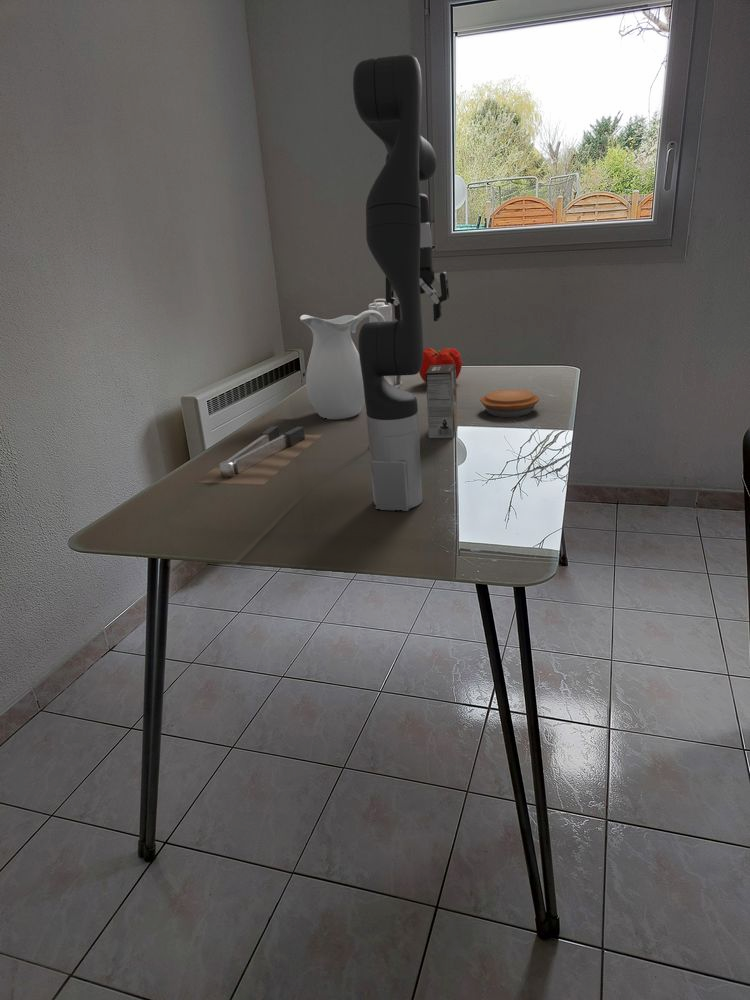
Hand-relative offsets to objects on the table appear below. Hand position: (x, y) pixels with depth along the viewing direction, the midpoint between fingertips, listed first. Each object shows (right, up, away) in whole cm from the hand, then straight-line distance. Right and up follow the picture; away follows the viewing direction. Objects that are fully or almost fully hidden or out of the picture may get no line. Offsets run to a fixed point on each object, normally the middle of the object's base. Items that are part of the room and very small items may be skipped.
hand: (418, 321), depth 153 cm
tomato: (+11, -4, +60) cm, 62 cm away
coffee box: (+7, -25, +12) cm, 28 cm away
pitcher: (-17, -16, +36) cm, 43 cm away
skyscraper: (-6, -5, +62) cm, 62 cm away
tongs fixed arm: (-38, -31, 0) cm, 49 cm away
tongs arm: (-34, -31, 0) cm, 46 cm away
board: (-36, -33, 0) cm, 48 cm away
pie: (+26, -18, +25) cm, 40 cm away
